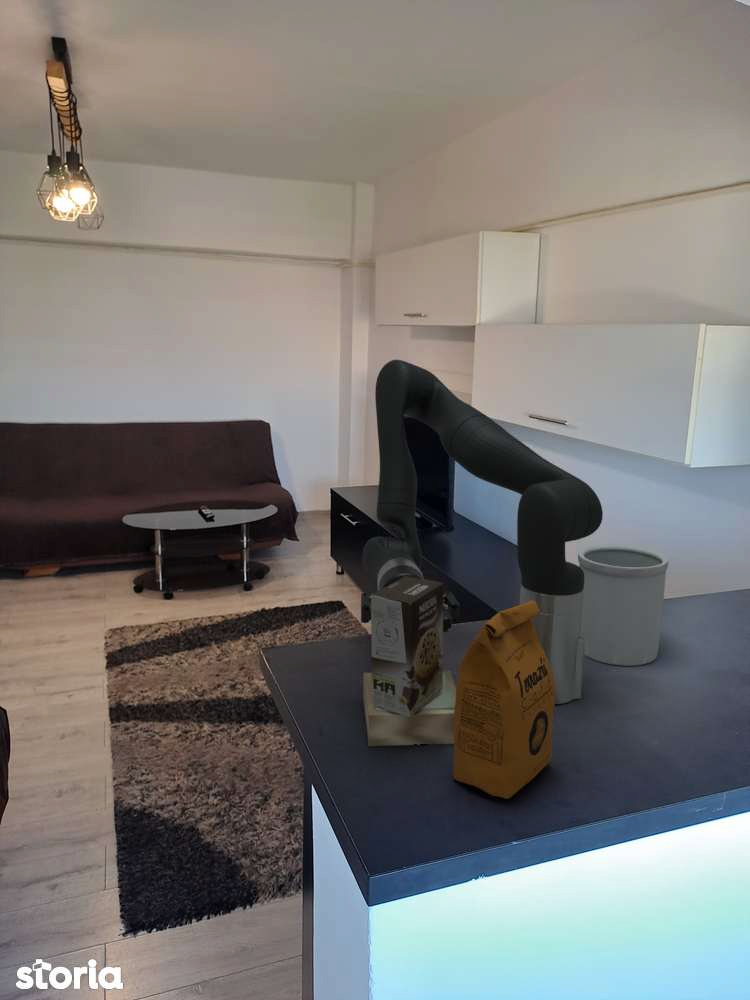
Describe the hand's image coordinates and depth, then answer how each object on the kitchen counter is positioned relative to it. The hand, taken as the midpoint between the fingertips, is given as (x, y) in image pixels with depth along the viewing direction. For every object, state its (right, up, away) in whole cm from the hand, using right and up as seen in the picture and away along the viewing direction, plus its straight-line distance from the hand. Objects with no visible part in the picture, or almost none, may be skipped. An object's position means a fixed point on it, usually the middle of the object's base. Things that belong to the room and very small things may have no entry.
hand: (414, 626), depth 103 cm
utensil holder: (+37, -9, +30) cm, 48 cm away
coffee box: (-1, -10, +1) cm, 10 cm away
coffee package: (+11, -17, -8) cm, 22 cm away
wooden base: (0, -14, +5) cm, 15 cm away
